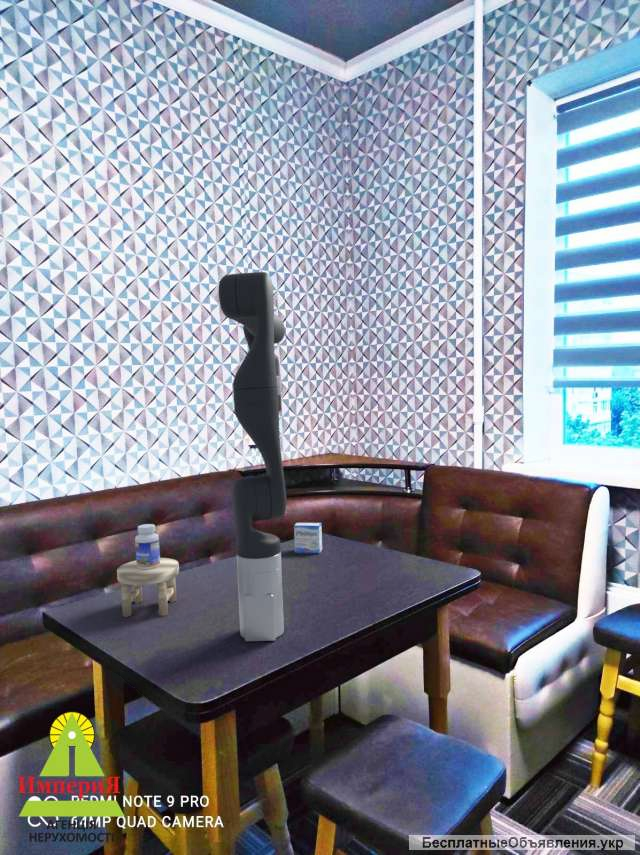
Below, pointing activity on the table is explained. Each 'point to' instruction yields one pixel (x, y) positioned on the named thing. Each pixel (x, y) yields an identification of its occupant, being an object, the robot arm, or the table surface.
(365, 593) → the table surface
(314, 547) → the medicine box
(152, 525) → the pill bottle
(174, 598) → the small wooden stool
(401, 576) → the table surface
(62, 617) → the table surface
